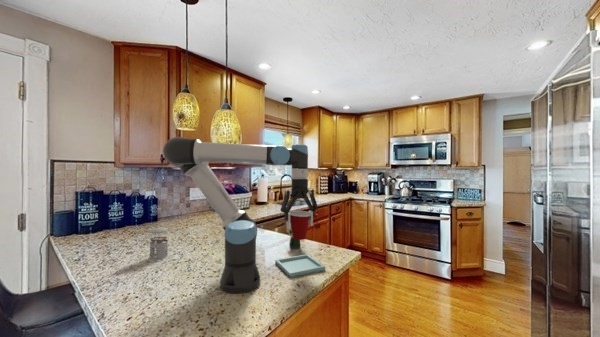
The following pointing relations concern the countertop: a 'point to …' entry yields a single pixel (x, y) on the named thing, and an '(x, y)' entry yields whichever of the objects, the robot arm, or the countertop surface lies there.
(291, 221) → the plastic cup
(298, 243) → the character mug
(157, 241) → the french press
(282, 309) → the countertop surface
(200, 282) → the countertop surface
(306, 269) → the tray
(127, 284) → the countertop surface
